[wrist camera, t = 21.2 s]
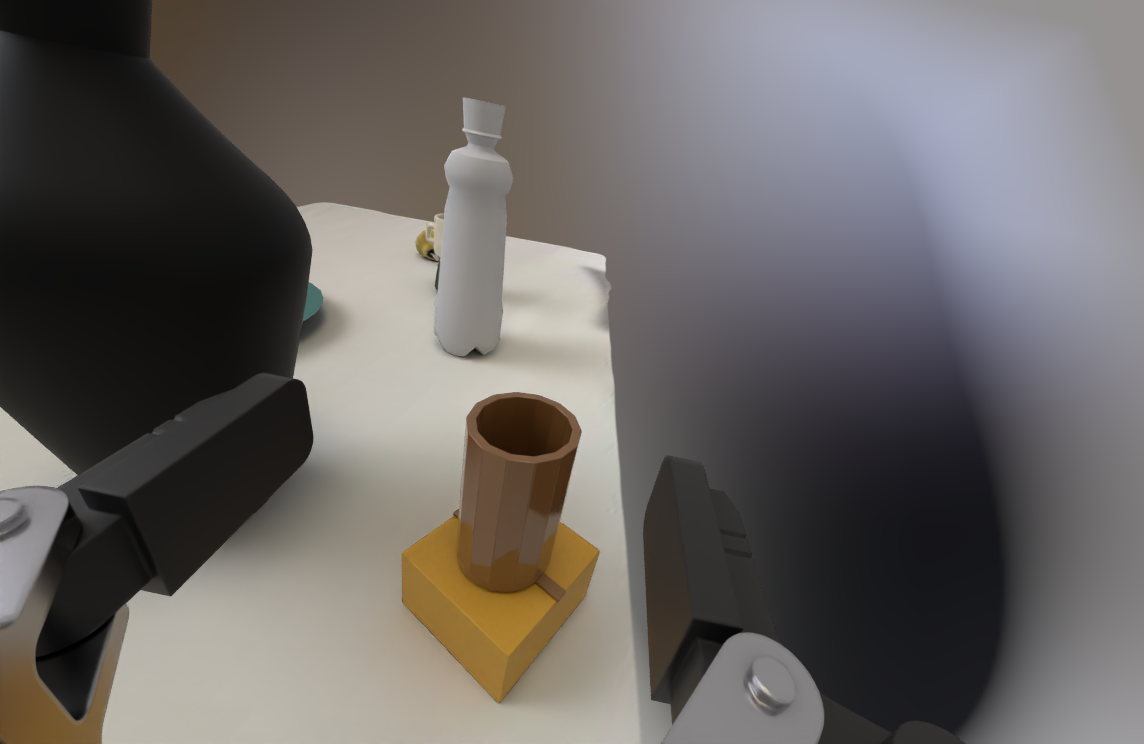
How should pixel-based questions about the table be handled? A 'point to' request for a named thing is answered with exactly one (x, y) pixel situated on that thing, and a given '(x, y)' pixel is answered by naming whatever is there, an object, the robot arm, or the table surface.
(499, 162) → the bottle
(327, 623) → the table surface
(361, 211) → the table surface
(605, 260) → the table surface
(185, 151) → the vase
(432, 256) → the fruit
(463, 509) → the cup
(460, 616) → the box
